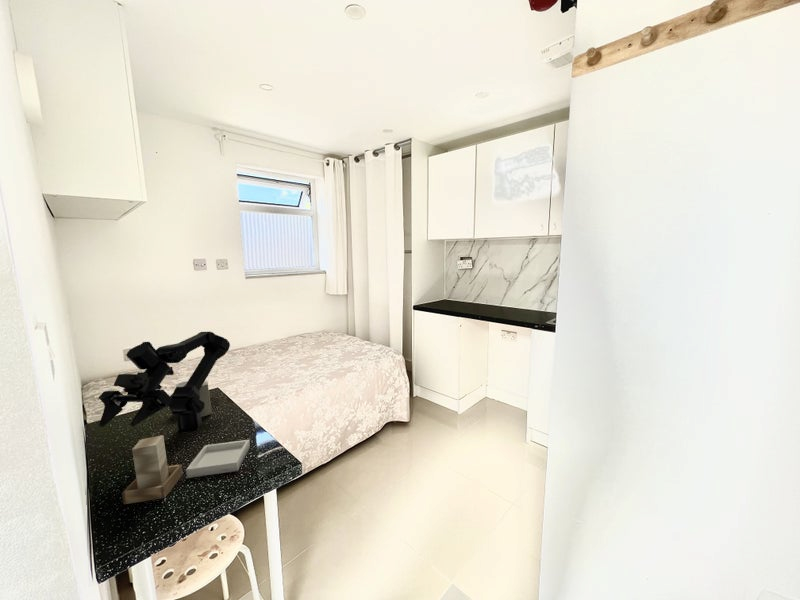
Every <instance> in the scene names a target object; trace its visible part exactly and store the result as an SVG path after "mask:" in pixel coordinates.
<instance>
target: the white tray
mask: <svg viewBox="0 0 800 600" xmlns="http://www.w3.org/2000/svg"><path fill="white" fill-rule="evenodd" d="M250 448H251V442H250V439H244V440H243V439H242V440H238V441H237V440H235V441H230V442H222V443H219V442H218V443H212V444H206V445H204V446H203V447H202V449H201V450H200V451H198V454H197V455H196V456H195V457H194V458H193V460H192V462H191V463H190V464H189V465H188V467H187V468H186V469H185V471H186V478H187V479H191V478H198V477H203V476H211V475H217V474H218V475H219V474H224V473H231V472H232V473H233V472H238V471H239V469H240V467H241V466H242V464H243V462H244V459H245V458H246V456H247V454H248V452H249V450H250Z"/></svg>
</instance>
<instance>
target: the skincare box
mask: <svg viewBox="0 0 800 600" xmlns="http://www.w3.org/2000/svg"><path fill="white" fill-rule="evenodd" d="M209 390H210V389H209V382H208V380H205V381H204V383H203V385H202V386H201V388H200V390H199V392H200V399H199V400H201V401H203V402H204V403H205V405H204V409H203V410H202V412H201V418H202V417H206V416H208V415H212V414H213V412H212V405H211V399H210V398H211V396H210V391H209Z"/></svg>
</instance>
